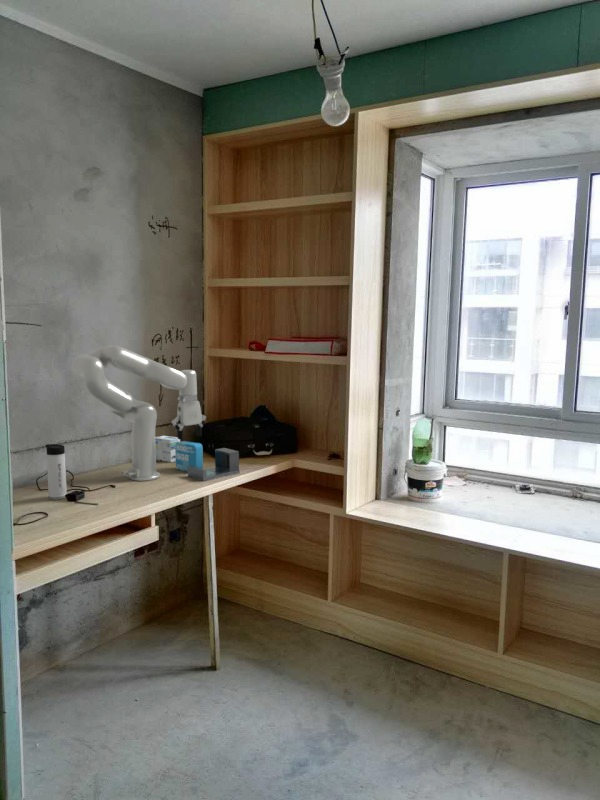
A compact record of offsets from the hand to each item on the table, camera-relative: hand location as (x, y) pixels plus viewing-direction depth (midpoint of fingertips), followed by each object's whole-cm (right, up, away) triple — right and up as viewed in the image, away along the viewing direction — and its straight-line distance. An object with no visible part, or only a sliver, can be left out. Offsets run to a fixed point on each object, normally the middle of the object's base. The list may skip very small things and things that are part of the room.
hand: (189, 437), depth 275 cm
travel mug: (-42, -20, -42) cm, 62 cm away
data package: (-1, -15, +2) cm, 15 cm away
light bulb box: (-14, -12, +20) cm, 27 cm away
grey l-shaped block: (+11, -15, -7) cm, 20 cm away
